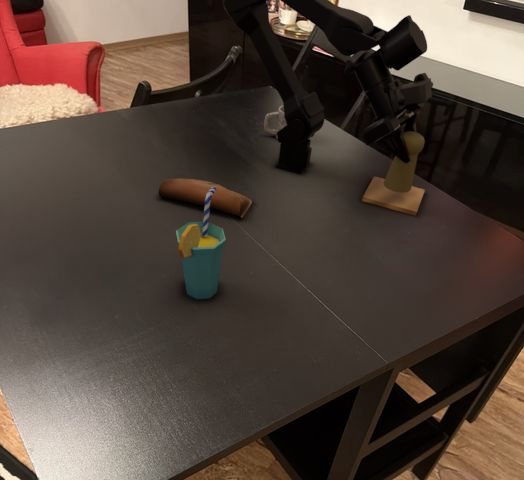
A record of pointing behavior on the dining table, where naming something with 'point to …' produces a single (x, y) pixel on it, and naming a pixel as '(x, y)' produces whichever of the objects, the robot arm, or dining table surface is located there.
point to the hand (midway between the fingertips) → (412, 157)
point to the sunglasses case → (197, 195)
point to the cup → (201, 254)
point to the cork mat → (393, 197)
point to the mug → (280, 121)
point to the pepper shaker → (404, 165)
